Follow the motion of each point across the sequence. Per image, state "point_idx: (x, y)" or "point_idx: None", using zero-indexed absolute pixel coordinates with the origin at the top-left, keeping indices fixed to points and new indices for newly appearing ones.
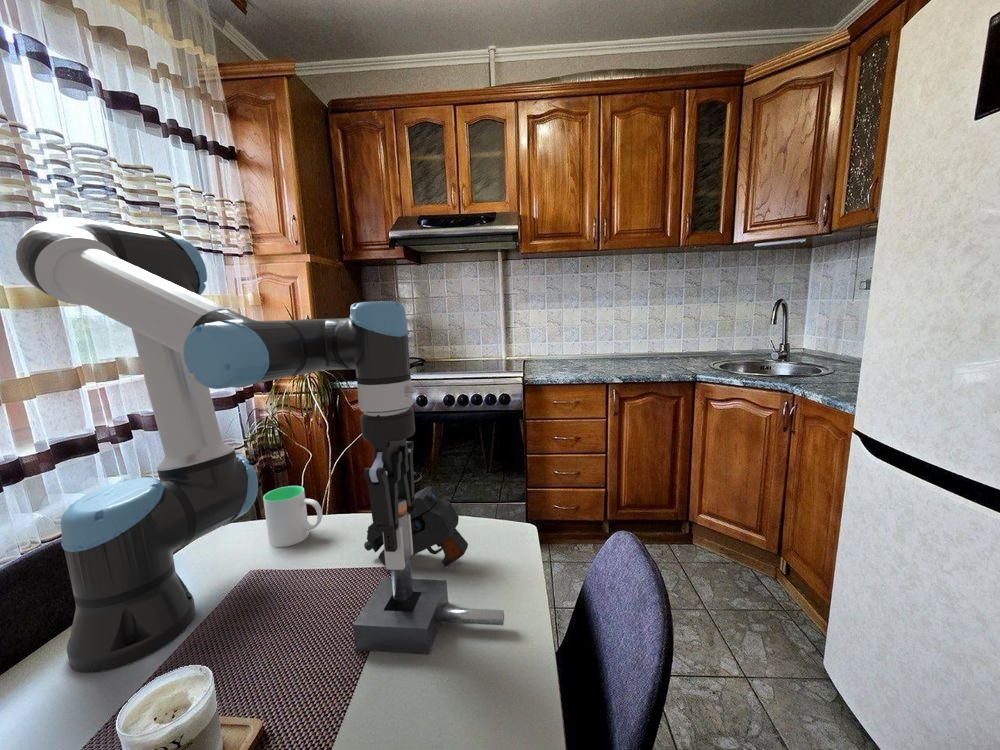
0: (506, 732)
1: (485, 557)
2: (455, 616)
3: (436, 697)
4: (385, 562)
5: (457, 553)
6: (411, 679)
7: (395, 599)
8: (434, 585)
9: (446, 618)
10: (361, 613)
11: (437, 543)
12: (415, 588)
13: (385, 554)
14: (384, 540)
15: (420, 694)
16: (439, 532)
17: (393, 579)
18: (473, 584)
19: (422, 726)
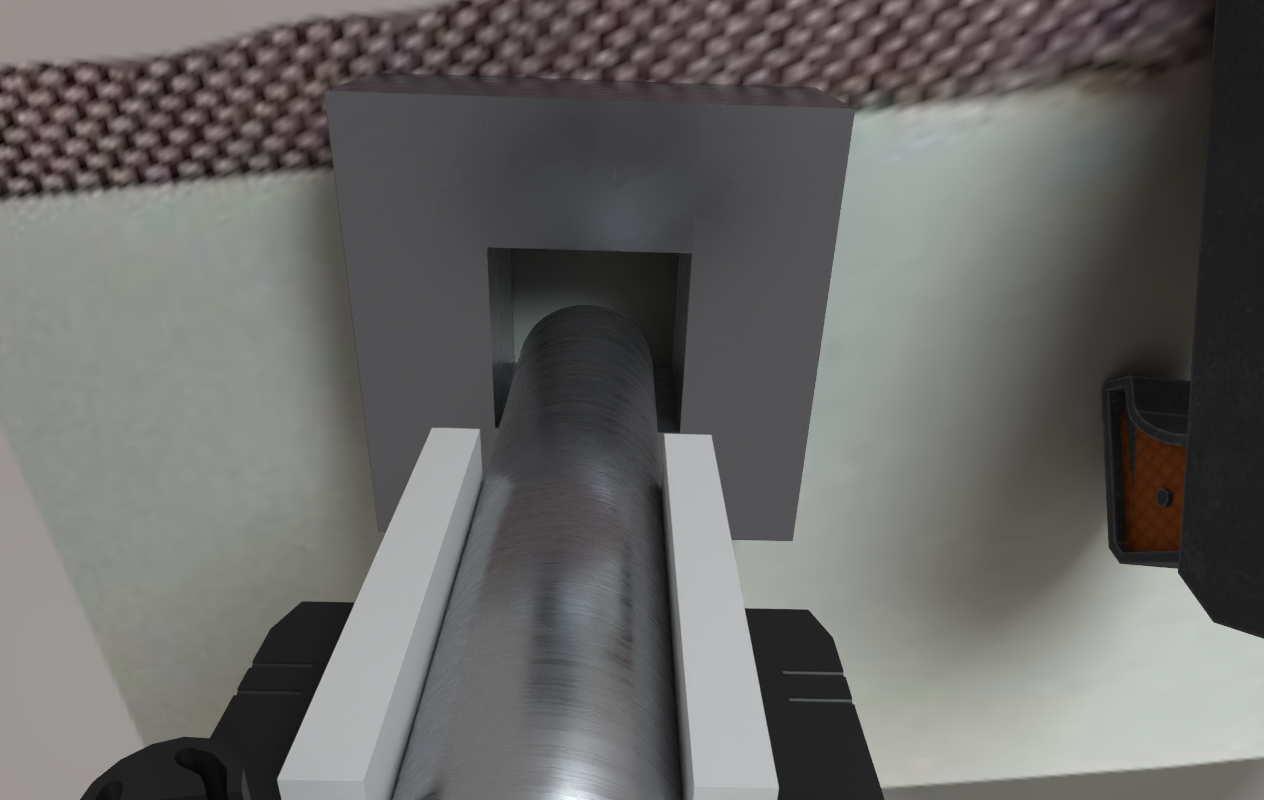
0: (165, 731)
1: (1155, 578)
2: None
3: (218, 527)
4: (419, 462)
5: (1139, 506)
6: (271, 417)
7: (528, 336)
8: (743, 485)
9: None
10: (441, 103)
11: (1186, 453)
12: (713, 385)
13: (398, 518)
14: (226, 717)
15: (213, 470)
16: (1239, 527)
17: (512, 399)
18: (909, 553)
19: (93, 508)
